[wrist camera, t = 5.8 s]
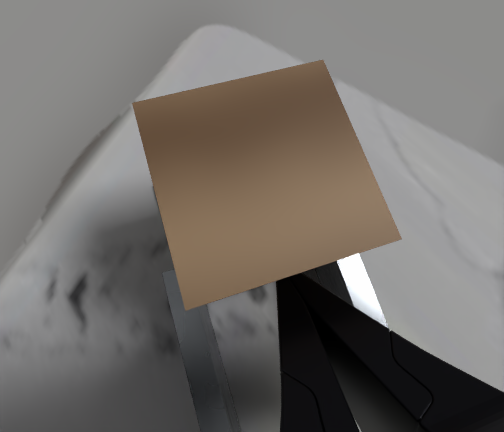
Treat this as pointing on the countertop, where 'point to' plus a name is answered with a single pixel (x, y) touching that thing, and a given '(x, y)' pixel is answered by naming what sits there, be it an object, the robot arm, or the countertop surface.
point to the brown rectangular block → (259, 181)
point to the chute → (206, 349)
